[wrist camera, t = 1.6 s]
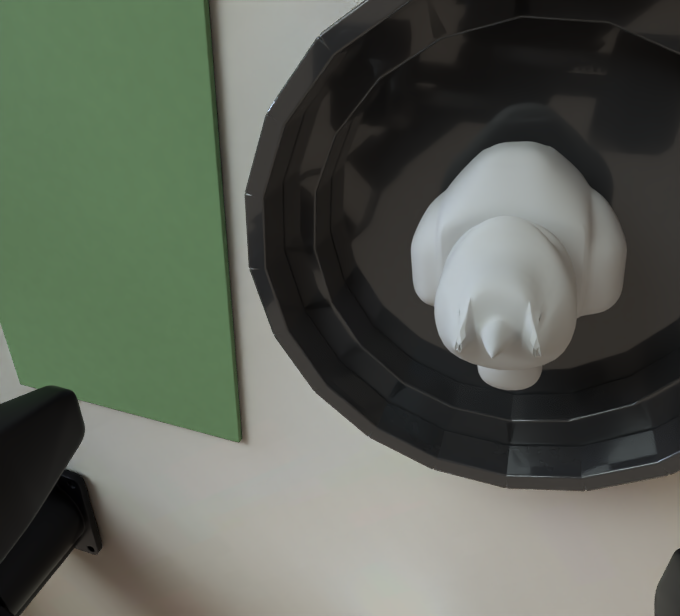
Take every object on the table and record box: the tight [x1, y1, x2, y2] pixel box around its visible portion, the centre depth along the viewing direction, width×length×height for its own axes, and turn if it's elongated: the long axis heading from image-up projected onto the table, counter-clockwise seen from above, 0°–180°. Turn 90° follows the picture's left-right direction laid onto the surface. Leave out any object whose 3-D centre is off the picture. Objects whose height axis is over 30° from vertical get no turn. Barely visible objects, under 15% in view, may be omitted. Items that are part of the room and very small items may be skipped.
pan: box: [245, 0, 680, 491], centre depth 17 cm, size 15×15×3 cm
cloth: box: [0, 0, 242, 442], centre depth 23 cm, size 20×12×1 cm, turn 179°
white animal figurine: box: [411, 141, 627, 390], centre depth 15 cm, size 5×7×8 cm
